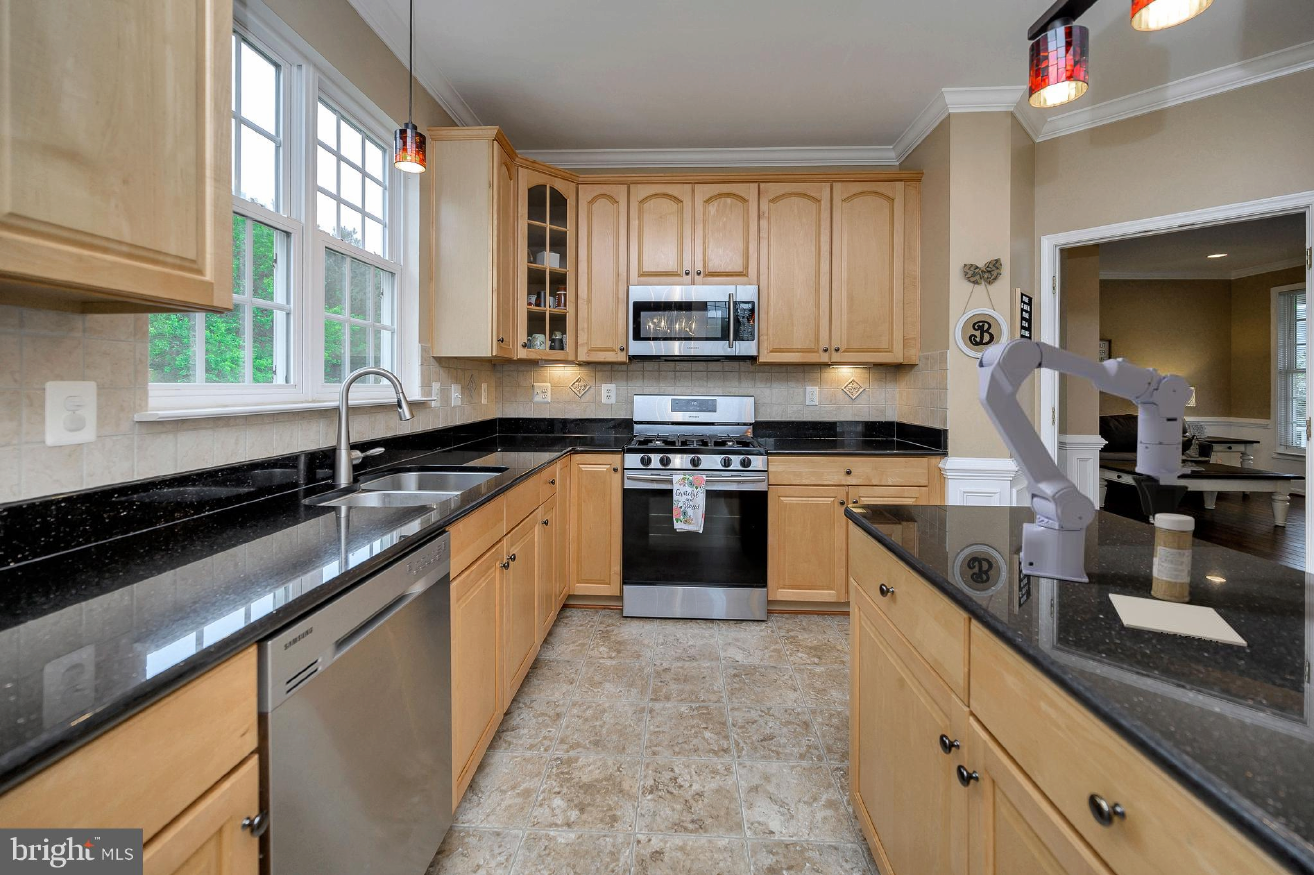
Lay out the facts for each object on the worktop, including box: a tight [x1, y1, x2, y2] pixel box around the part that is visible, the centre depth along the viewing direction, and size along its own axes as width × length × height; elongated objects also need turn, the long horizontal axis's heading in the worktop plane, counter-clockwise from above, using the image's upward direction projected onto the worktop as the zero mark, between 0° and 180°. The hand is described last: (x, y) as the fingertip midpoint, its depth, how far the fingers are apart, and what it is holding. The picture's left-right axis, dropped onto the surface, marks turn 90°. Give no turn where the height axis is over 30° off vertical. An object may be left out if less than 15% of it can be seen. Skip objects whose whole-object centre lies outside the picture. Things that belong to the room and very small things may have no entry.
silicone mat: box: [1108, 593, 1248, 647], centre depth 79 cm, size 12×14×1 cm
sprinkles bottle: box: [1150, 513, 1195, 604], centre depth 86 cm, size 5×5×14 cm
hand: (1157, 519), depth 96 cm, fingers open, 7 cm apart
